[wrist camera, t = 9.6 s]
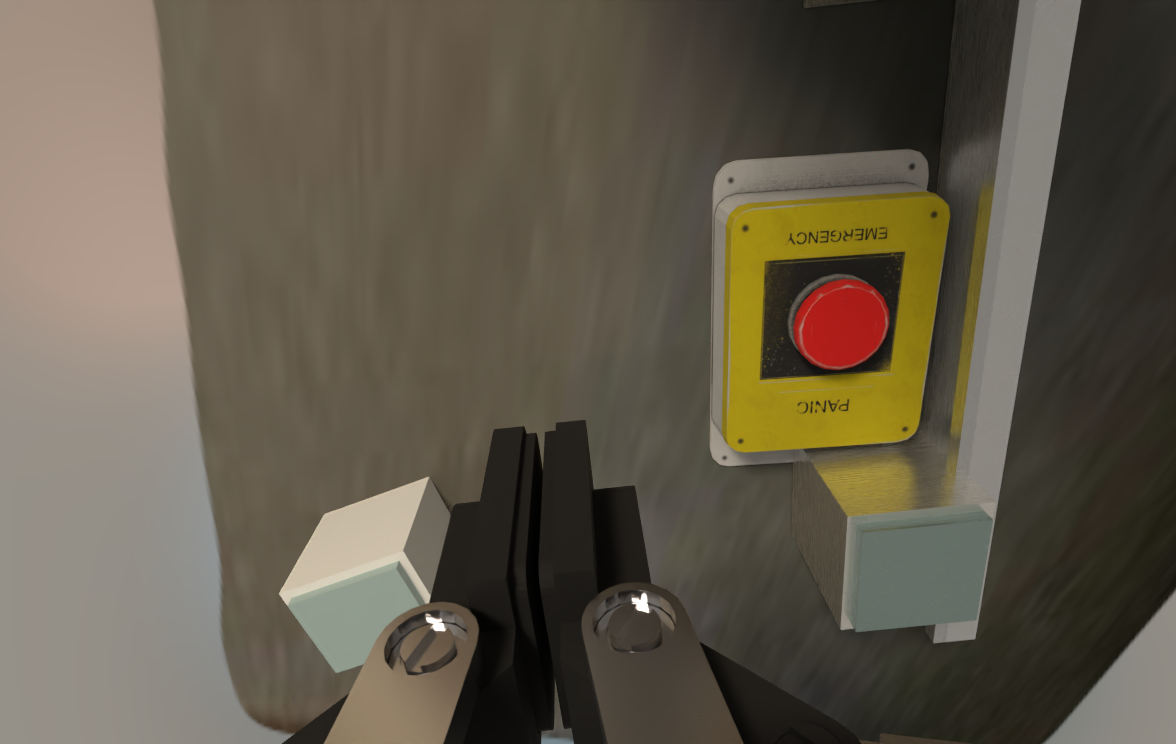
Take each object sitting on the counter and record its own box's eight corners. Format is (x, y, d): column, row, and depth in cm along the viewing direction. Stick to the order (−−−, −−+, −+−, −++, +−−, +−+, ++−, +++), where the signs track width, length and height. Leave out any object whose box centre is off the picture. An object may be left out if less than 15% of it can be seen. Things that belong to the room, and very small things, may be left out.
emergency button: (983, 155, 25) (927, 496, 31) (925, 146, 29) (885, 449, 35) (733, 171, 25) (725, 510, 31) (710, 160, 29) (707, 461, 35)
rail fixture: (810, -311, 22) (921, -493, 15) (1034, -337, 22) (1247, -531, 15) (789, 584, 37) (841, 699, 30) (924, 571, 37) (1007, 682, 30)
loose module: (324, 513, 35) (274, 601, 29) (429, 476, 34) (400, 558, 28) (370, 584, 36) (332, 681, 30) (471, 550, 36) (452, 642, 30)
